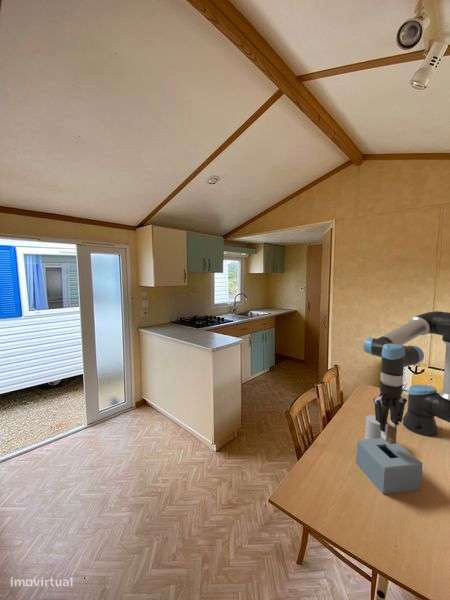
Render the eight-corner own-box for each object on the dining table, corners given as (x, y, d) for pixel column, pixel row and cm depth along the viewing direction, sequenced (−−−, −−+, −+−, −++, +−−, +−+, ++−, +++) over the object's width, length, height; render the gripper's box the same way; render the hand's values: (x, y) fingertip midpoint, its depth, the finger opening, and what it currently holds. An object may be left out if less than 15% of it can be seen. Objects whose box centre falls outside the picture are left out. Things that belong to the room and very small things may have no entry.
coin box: (389, 460, 115) (390, 437, 114) (420, 489, 99) (422, 463, 98) (356, 463, 113) (357, 440, 112) (382, 494, 97) (384, 467, 96)
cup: (386, 448, 122) (388, 425, 121) (368, 446, 124) (369, 423, 123) (380, 438, 130) (381, 415, 129) (362, 436, 132) (364, 414, 131)
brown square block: (384, 434, 108) (385, 420, 107) (395, 443, 102) (396, 429, 101) (379, 434, 108) (380, 421, 107) (390, 444, 102) (391, 429, 101)
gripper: (401, 378, 107) (397, 431, 109) (366, 380, 105) (363, 433, 108) (416, 385, 100) (412, 442, 102) (380, 388, 98) (376, 445, 100)
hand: (387, 437), depth 105 cm, fingers closed on brown square block, 2 cm apart
